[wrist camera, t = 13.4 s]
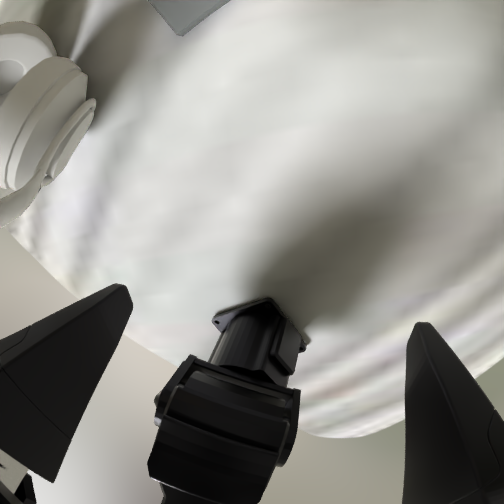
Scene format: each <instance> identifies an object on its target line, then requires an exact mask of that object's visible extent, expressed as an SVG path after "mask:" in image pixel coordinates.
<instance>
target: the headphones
mask: <svg viewBox="0 0 504 504" xmlns="http://www.w3.org/2000/svg"><path fill="white" fill-rule="evenodd" d="M87 83H88V75H86V74H84V73H83V72H81V69H80V68H79V67H78V66H77V65H76V64H75V63H74V62H73V61H71V60H70V59H68V58H64V57H58V56H57V52H56V50H55V48H54V46H53V43H52V41H51V39H50V38H49V36H48V35H47V34H46V33H45V32H44V31H43V30H42V29H40V28H39V27H38V26H37V25H34V24H31V23H28V22H24V21H17V22H6V23H4V24H1V25H0V187H1V188H5V189H14V190H15V192H13V193H11V194H10V195H8V196H6V197H4V198H2V199H0V228H2V227H4V226H5V225H7V224H9V223H10V222H12V221H13V220H15V219H16V218H18V217H19V216H21V215H22V214H23V212H24V211H25V210H26V209H27V208H28V207H29V206H30V204H31V203H32V202H33V200H34V199H35V197H36V195H37V193H38V192H39V191H40V189H41V187H44V186H47V185H48V184H50V183H51V182H52V181H53V180H54V179H55V178H56V177H57V176H58V175H59V174H60V173H61V172H62V171H63V169H64V168H65V166H66V165H67V163H68V161H69V159H70V157H71V156H72V154H73V153H74V151H75V149H76V148H77V146H78V144H79V143H80V141H81V140H82V138H83V137H84V135H85V133H86V132H87V130H88V128H89V126H90V124H91V122H92V120H93V117H94V110H95V107H96V100H95V99H94V98H92V99H89V100H87V101H86V91H87ZM85 101H86V102H85ZM45 174H47V176H45Z"/></svg>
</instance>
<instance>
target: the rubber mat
mask: <svg viewBox="0 0 504 504" xmlns="http://www.w3.org/2000/svg"><path fill="white" fill-rule="evenodd" d="M148 1H149V2H150V3H151V4H152V5H153V7H154V8H155V9H156V10H157V11H158V13H159V14H160V15H161V16H162V17H163V19H164V20H165V21H166V22H167V24H168V25H169V26H170V27H171V28H172V30H173V31H174V32H175V33H176V35H179V36H184V35H185V34H186V33H187V32H188V31H190V30H191V29H192V28H193V27H195V26H196V25H197V24H198V23H200V22H201V21H202V20H204V19H205V18H206V17H208V16H209V15H210V14H212V13H213V12H214V11H216V10H217V9H219V8H220V7H221V6H223V5H224V4H226V3H227V2H229V1H230V0H148Z"/></svg>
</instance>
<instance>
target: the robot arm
mask: <svg viewBox="0 0 504 504" xmlns="http://www.w3.org/2000/svg"><path fill="white" fill-rule="evenodd" d="M267 303H268V304H270V305H267ZM132 310H133V302H132V300H131V297H130V294H129V291H128V289H127V287H126V286H125V285H122V284H117V283H115V284H112V285H110V286H108V287H106V288H104V289H102V290H100V291H98V292H96V293H94V294H92V295H90V296H88V297H86V298H84V299H81V300H79V301H77V302H75V303H73V304H71V305H70V306H68V307H65V308H63V309H61V310H59V311H57V312H55V313H53V314H51V315H49V316H48V317H46V318H44V319H42V320H40V321H38V322H36V323H34V324H32V325H30V326H28V327H26V328H24V329H22V330H20V331H18V332H16V333H14V334H12V335H10V336H8V337H6V338H3V339H1V340H0V504H36V498H35V493H34V488H33V483H32V477H31V476H30V475H29V474H28V473H27V471H28V469H30V470H31V471H33V472H34V473H36V474H38V475H39V476H41V477H43V478H44V479H46V480H48V481H49V482H51V483H54V481H55V479H56V477H57V474H58V472H59V469H60V467H61V464H62V462H63V459H64V457H65V455H66V452H67V450H68V447H69V445H70V443H71V439H72V438H73V435H74V433H75V431H76V429H77V426H78V424H79V422H80V420H81V418H82V416H83V413H84V411H85V409H86V407H87V405H88V403H89V401H90V399H91V397H92V395H93V393H94V391H95V388H96V386H97V384H98V383H99V381H100V379H101V377H102V374H103V373H104V371H105V369H106V367H107V365H108V363H109V361H110V359H111V357H112V355H113V353H114V352H115V349H116V347H117V345H118V343H119V341H120V338H121V336H122V334H123V331H124V329H125V327H126V324H127V322H128V320H129V317H130V315H131V313H132ZM212 323H213V324H214V325H215V326H216V328H217V329H218V330H219V331H220V332H221V335H220V337H219V339H218V341H217V343H216V346H215V348H214V350H213V352H212V354H211V356H210V358H209V360H208V362H206V361H204V360H201V359H198V358H197V357H196V356H193V355H191V354H190V355H189V356H188V358H187V359H186V360H185V361H183V362H182V364H181V365H180V366H179V368H178V369H177V371H176V372H175V373H174V375H173V376H172V378H171V379H170V380H169V381H168V383H167V384H166V386H165V387H164V388H163V390H162V391H160V392H159V393H158V394H157V395H156V397H155V399H154V403H155V405H156V413H155V419H154V423H155V425H156V426H158V427H159V429H158V433H157V436H156V439H155V442H154V445H153V448H152V452H151V454H150V457H149V459H148V462H147V465H148V471H149V476H150V478H152V479H154V480H156V481H159V483H160V486H161V489H162V492H163V494H164V497H163V500H162V503H161V504H257V503H259V502H260V500H261V497H262V495H263V492H264V491H265V489H266V487H267V485H268V482H269V480H270V478H271V475H272V473H273V471H274V469H275V466H277V467H282V466H283V465H284V464H285V463H286V461H287V459H288V457H289V455H290V452H291V451H292V448H293V445H294V442H295V438H296V434H297V428H298V418H299V407H300V394H301V390H299V389H295V388H294V389H291V388H287V383H288V379H289V376H290V375H293V373H294V371H295V367H296V362H297V357H298V353H301V352H304V351H305V350H306V346H307V345H306V344H305V342H304V341H303V339H302V338H301V335H300V334H299V333H298V331H297V330H296V328H295V327H294V326H293V324H292V323H291V322H290V320H289V319H288V318H287V317H286V316H285V315H284V314H283V312H282V311H281V309H280V308H279V307H278V305H277V304H276V303H275V301H274V300H273V299H271V298H265V299H262V300H259V301H256V302H254V303H251V304H248V305H245V306H242V307H239V308H236V309H233V310H230V311H227V312H224V313H221V314H218V315H215V316H214V317H213V319H212ZM405 428H406V430H405V432H406V433H405V471H404V488H403V498H402V504H504V421H503V420H502V418H501V416H500V415H499V413H498V412H497V410H494V406H493V405H492V403H491V402H490V400H489V399H488V397H487V396H486V395H485V393H484V392H483V390H482V389H481V388H480V386H479V385H478V383H477V382H476V381H475V379H474V378H473V377H472V375H471V374H470V372H469V371H468V370H467V368H466V367H465V366H464V365H463V363H462V362H461V361H460V359H459V358H458V357H457V355H456V354H455V353H454V352H453V350H452V349H451V348H450V347H449V345H448V344H447V343H446V342H445V340H444V339H443V338H442V337H441V335H440V334H439V333H438V332H437V330H436V329H435V328H434V327H433V326H432V325H431V324H430V323H428V322H417V323H416V324H415V326H414V328H413V331H412V333H411V335H410V338H409V340H408V343H407V349H406V380H405Z"/></svg>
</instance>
